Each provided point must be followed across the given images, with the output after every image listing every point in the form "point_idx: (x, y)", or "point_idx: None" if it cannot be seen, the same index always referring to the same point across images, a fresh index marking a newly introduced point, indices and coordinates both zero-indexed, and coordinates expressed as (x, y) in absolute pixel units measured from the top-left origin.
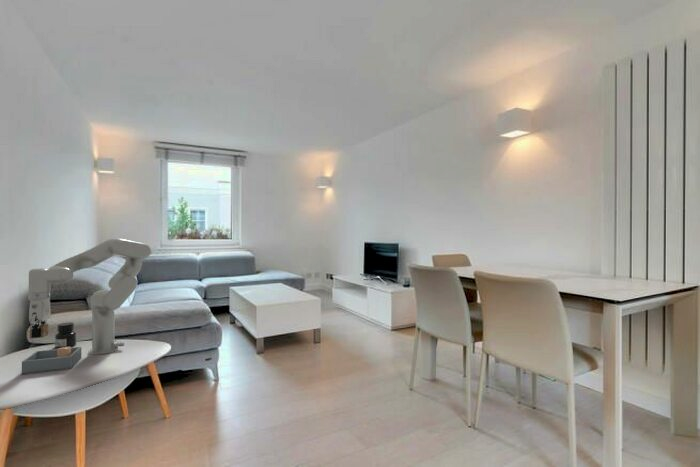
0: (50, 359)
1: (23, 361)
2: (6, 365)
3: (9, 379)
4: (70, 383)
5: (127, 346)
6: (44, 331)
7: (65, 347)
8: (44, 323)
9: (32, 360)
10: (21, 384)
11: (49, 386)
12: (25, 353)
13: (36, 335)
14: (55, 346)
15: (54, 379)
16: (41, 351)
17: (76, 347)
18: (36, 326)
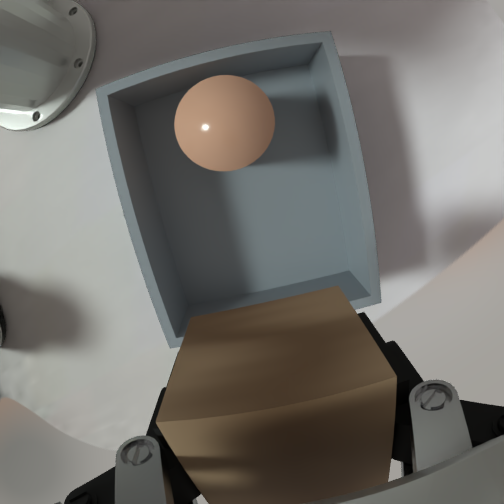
0: (358, 148)
1: (380, 294)
2: None
3: (404, 286)
4: (473, 10)
5: None
6: (331, 326)
7: (201, 123)
8: (168, 468)
9: (376, 250)
10: (470, 192)
11: (495, 71)
12: (72, 415)
13: (394, 348)
14: (1, 343)
15: (442, 77)
16: (170, 318)
17: (108, 112)
18: (497, 407)
